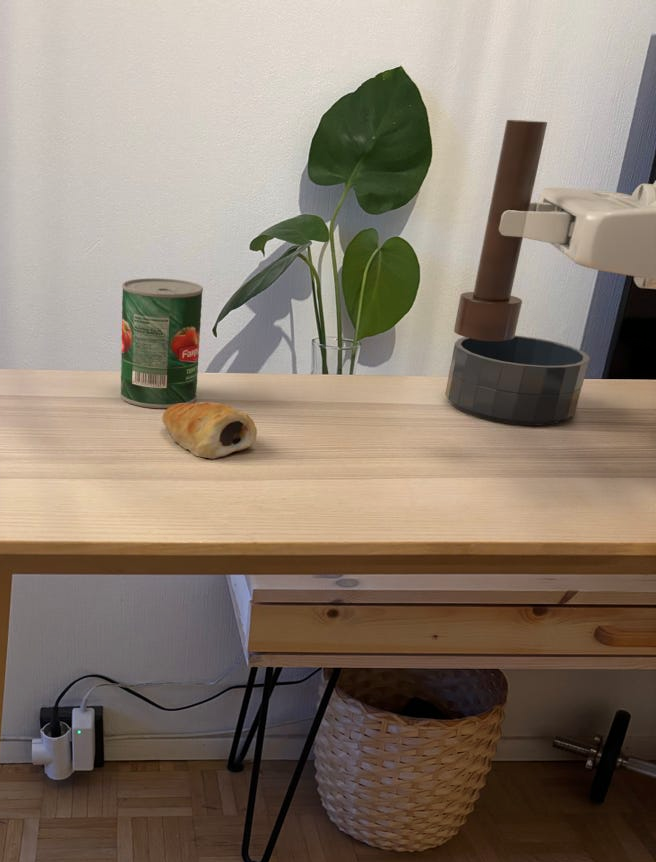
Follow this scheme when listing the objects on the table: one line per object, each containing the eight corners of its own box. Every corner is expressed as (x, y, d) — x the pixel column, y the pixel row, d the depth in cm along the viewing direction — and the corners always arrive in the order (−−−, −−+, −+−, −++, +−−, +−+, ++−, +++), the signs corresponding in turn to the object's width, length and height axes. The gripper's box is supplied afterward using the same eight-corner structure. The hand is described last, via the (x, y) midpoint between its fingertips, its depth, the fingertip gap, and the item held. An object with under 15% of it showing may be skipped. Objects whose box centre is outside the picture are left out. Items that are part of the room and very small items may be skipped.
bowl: (601, 417, 99) (617, 359, 96) (512, 434, 93) (526, 372, 90) (504, 384, 109) (516, 330, 106) (418, 396, 103) (428, 340, 100)
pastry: (143, 431, 89) (145, 391, 87) (200, 421, 92) (203, 382, 90) (205, 463, 82) (208, 419, 81) (264, 450, 86) (268, 408, 84)
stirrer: (526, 338, 81) (575, 123, 73) (485, 343, 78) (530, 122, 70) (482, 325, 84) (524, 119, 76) (441, 330, 82) (479, 118, 74)
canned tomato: (115, 386, 101) (117, 277, 95) (188, 386, 102) (194, 278, 97) (125, 409, 94) (127, 293, 89) (203, 408, 96) (210, 294, 90)
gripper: (650, 175, 83) (487, 165, 84) (733, 200, 65) (525, 187, 67) (629, 252, 86) (472, 242, 87) (703, 296, 68) (505, 282, 70)
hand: (495, 218), depth 77 cm, fingers closed on stirrer, 3 cm apart
